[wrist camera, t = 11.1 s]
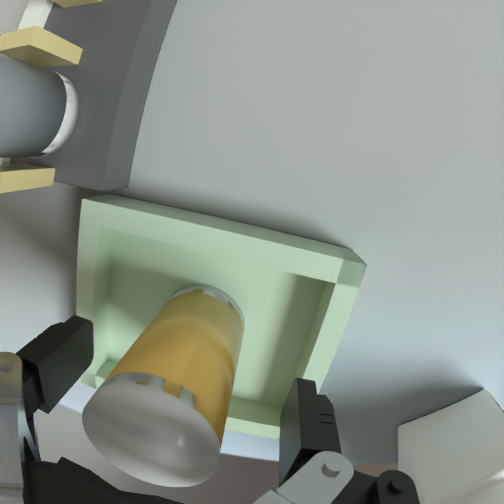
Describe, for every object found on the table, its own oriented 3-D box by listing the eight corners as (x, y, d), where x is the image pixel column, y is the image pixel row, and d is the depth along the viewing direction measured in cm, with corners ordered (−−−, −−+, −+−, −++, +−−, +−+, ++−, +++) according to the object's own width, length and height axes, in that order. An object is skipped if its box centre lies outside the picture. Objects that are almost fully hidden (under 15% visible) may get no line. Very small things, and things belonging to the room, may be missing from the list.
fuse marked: (253, 296, 14) (229, 422, 7) (235, 366, 15) (207, 498, 8) (168, 275, 14) (75, 372, 7) (159, 346, 15) (89, 459, 8)
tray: (352, 249, 14) (366, 265, 12) (293, 412, 17) (295, 442, 14) (109, 193, 14) (82, 198, 12) (99, 359, 17) (80, 382, 15)
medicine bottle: (473, 444, 17) (525, 547, 6) (396, 476, 18) (428, 596, 7) (486, 385, 16) (568, 503, 4) (396, 424, 17) (448, 577, 5)
